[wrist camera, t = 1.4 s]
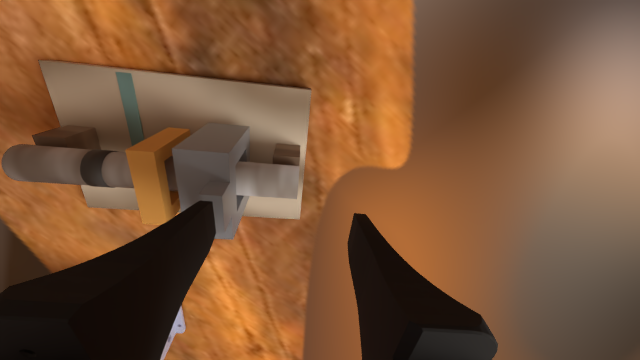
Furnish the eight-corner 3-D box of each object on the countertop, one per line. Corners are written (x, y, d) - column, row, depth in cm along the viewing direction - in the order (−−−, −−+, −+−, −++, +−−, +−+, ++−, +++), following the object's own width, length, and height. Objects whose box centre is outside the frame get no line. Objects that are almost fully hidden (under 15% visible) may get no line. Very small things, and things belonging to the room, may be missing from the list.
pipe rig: (299, 213, 25) (298, 257, 20) (96, 201, 23) (31, 246, 18) (311, 88, 20) (313, 100, 15) (51, 60, 18) (-61, 61, 13)
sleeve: (250, 194, 22) (226, 256, 15) (214, 192, 22) (173, 254, 15) (249, 126, 19) (220, 164, 12) (209, 122, 19) (156, 159, 12)
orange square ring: (196, 188, 21) (167, 225, 16) (177, 187, 21) (142, 223, 16) (189, 129, 19) (153, 152, 14) (168, 127, 18) (125, 149, 14)
